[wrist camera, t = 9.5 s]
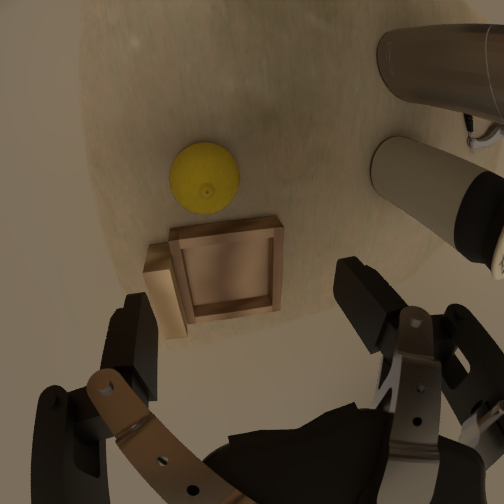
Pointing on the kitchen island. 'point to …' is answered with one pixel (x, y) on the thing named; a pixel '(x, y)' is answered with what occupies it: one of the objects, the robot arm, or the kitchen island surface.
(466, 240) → the travel mug
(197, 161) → the lemon
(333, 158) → the kitchen island surface
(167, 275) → the oak stop
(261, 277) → the walnut tray
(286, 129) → the kitchen island surface
